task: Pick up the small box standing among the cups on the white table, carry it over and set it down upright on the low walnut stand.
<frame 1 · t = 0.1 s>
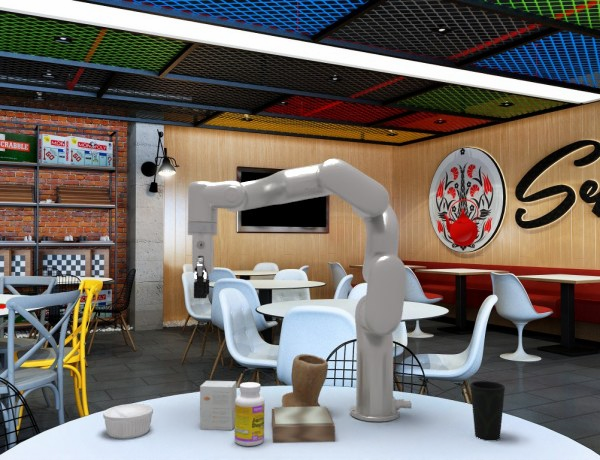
hand: (201, 296, 147), 31 cm above the table, tool pointing down, fingers open, 9 cm apart
stand: (301, 431, 137), on the table
small box: (218, 427, 140), on the table
supplement bottle: (249, 442, 130), on the table
ramekin: (128, 433, 136), on the table
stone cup: (304, 412, 153), on the table
cup: (487, 437, 134), on the table
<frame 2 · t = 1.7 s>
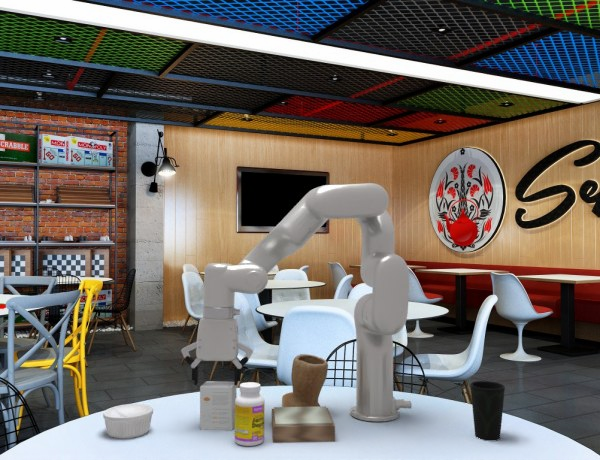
hand: (216, 383, 140), 10 cm above the table, tool pointing down, fingers open, 9 cm apart
small box: (218, 427, 140), on the table, touching gripper
everything else where it was.
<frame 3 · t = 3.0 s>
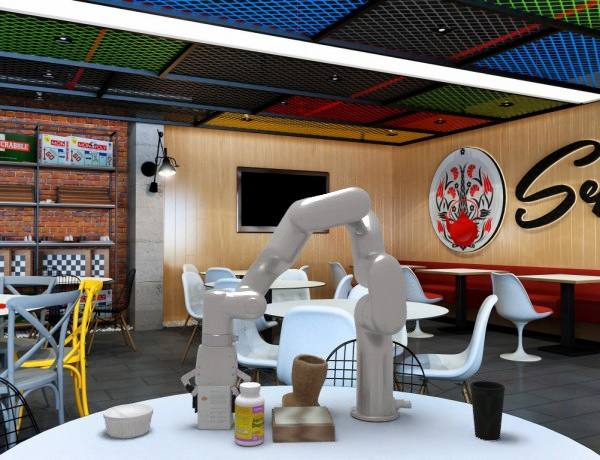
hand: (215, 411, 140), 4 cm above the table, tool pointing down, fingers closed on small box, 8 cm apart
small box: (215, 427, 140), on the table, touching gripper
everything else where it was.
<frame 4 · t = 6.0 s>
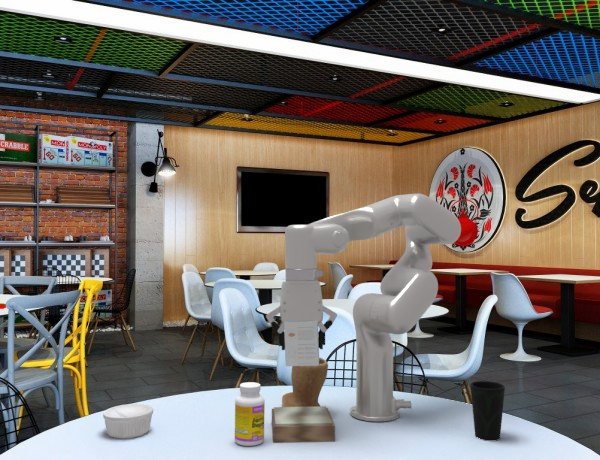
hand: (301, 348, 137), 20 cm above the table, tool pointing down, fingers closed on small box, 8 cm apart
small box: (302, 364, 137), point 16 cm above the table, touching gripper
everything else where it was.
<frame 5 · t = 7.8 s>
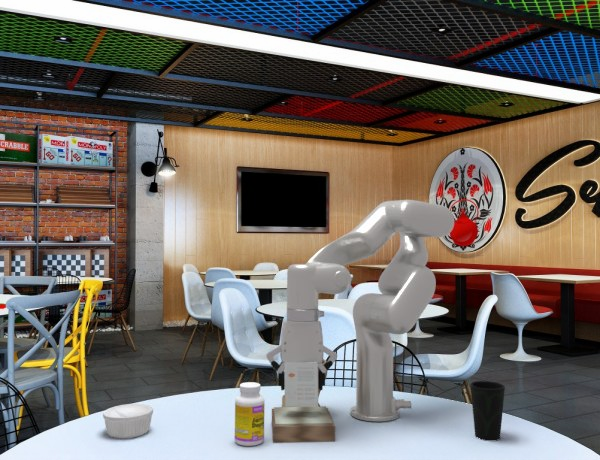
hand: (301, 388, 137), 10 cm above the table, tool pointing down, fingers closed on small box, 8 cm apart
small box: (301, 404, 137), point 6 cm above the table, touching gripper
everything else where it was.
when the fingers open (8 cm above the table, at t = 9.3 s): small box stays where it is, resting on stand.
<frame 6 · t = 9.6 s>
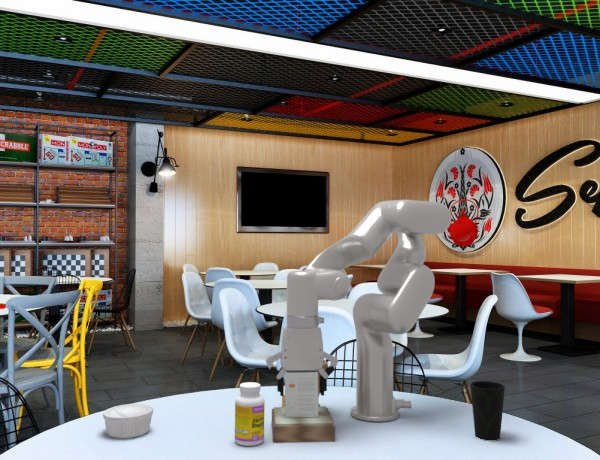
hand: (301, 394, 137), 9 cm above the table, tool pointing down, fingers open, 9 cm apart
small box: (301, 415, 137), point 4 cm above the table, touching stand
everything else where it was.
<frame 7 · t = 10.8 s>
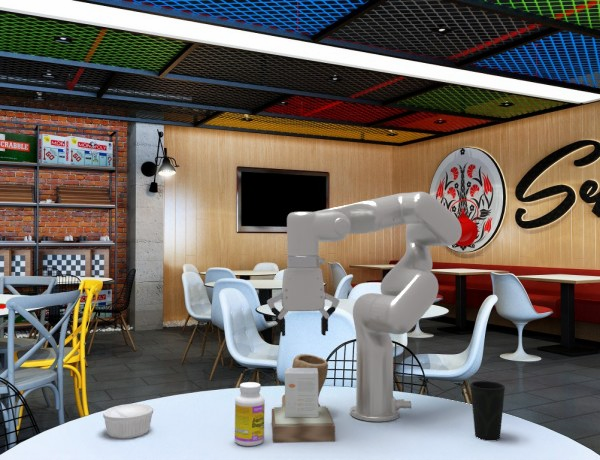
hand: (303, 334, 137), 23 cm above the table, tool pointing down, fingers open, 9 cm apart
nothing on the table moved.
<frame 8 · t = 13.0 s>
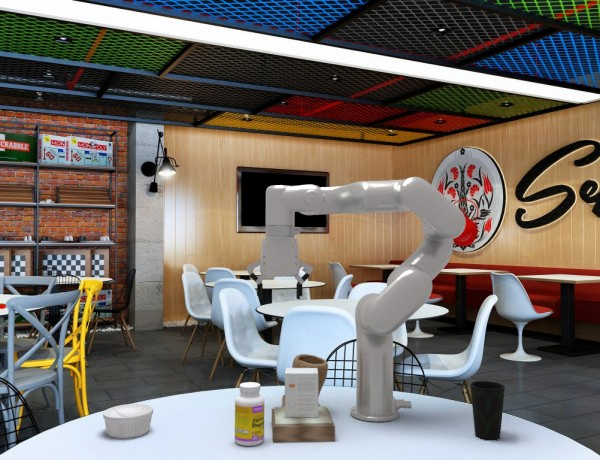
hand: (279, 299, 149), 30 cm above the table, tool pointing down, fingers open, 9 cm apart
nothing on the table moved.
at the end: small box inside the target area on the stand (0.3 cm from its centre), point 3.8 cm above the stand's base; small box tilted 0°; the gripper is holding nothing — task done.
